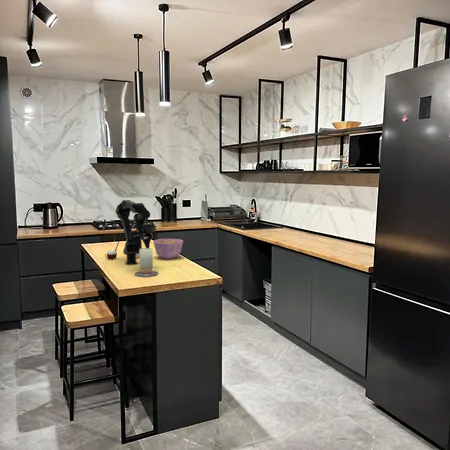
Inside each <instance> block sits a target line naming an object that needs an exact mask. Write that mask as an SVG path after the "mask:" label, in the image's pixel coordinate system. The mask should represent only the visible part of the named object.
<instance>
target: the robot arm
mask: <svg viewBox="0 0 450 450" xmlns="http://www.w3.org/2000/svg"><path fill="white" fill-rule="evenodd" d="M131 213H133V214H134V215H133V219H134V223H135V224H134V228H135V229H136V230H133V229H132V226H131V221H130V218H129V217H130V214H131ZM115 214H116V216H117V218H118V219H119V220H120V221H121V224H122V227H123V228H122V229H123V232H124V236H125V240H126V241H125V244H124V247H123V251H122V253H123V254H124V255H125V256H126V261H125V264H126V265H137V264H138V262H137V258H136V254H139V250H140V249H141V238H142V243H143V244H144V248H150V246H151V245H150V244H151V240H153V238H155V235H154V233H155V232H156V231H157V228H156V226H155V225H151V226H149V225H148V224H146V220H148V219H149V218H150V217H151V212H150V211H149V209H147V208H146V206H145V204H144V203H142V202H134V201H131V199H130V200H129V199H122V201H121V203H119V204H117V206H116V208H115Z"/></svg>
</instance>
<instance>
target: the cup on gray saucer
mask: <svg viewBox="0 0 450 450" xmlns="http://www.w3.org/2000/svg"><path fill="white" fill-rule="evenodd" d="M158 275H159V271H156V270H153V267H151V268H140V270H139V271H136V272H134V276H135V277H139V278H151V277H156V276H158Z"/></svg>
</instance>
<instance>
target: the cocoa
mask: <svg viewBox="0 0 450 450" xmlns="http://www.w3.org/2000/svg"><path fill="white" fill-rule="evenodd" d="M119 243H120V241H119V240H117V244H116V247H115V249H112V248H111V249H108V251H106V253H105V255H104V257H105V258H107V259H109V260H115V259H116V258H117V254H118V251H117V249H118V246H119Z"/></svg>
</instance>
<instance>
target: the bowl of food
mask: <svg viewBox="0 0 450 450" xmlns="http://www.w3.org/2000/svg"><path fill="white" fill-rule="evenodd" d="M152 242H153V246H154V250H155V253H156V255H157V256H158V257H160V258H162V259H164V260H172V259H175V258H176V257H179V255H180V254H181V252H182V249H183V243H184V240H183V239H180V238H159V239H154V240H153V241H152Z"/></svg>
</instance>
